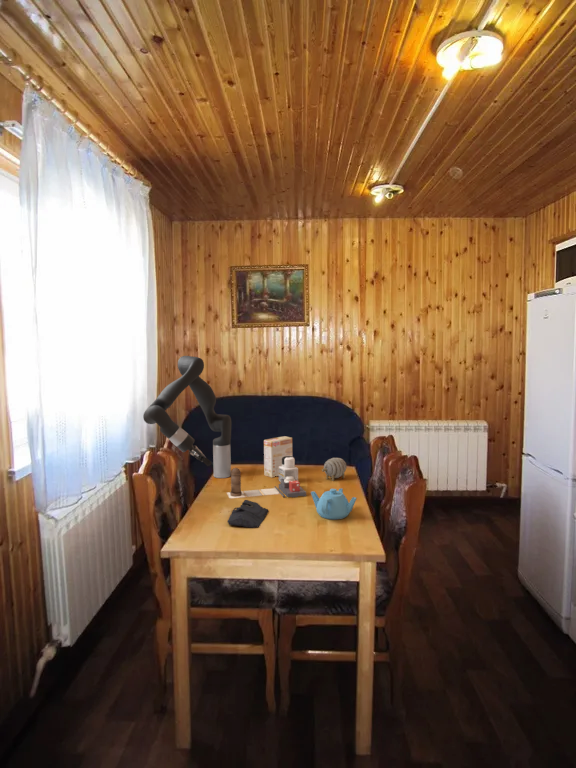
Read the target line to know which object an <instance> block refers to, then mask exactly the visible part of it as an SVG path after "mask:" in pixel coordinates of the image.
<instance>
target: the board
mask: <svg viewBox="0 0 576 768" xmlns="http://www.w3.org/2000/svg"><path fill="white" fill-rule="evenodd" d="M230 492H231V491H230ZM230 492H226V494H227V496H228V498H229V499H239V498H246V497H247V498H250V497H252V498H253V497H262V496H271V495H272V496H273V495H281V497H283V498H285V495H284V493H283V492H282V491H281V490H280V489H279V487H277V486H273V487H272V488H264V489H263V488H261V489H252V490H251V489H250V490H243V491H242V490H241V492H242V495H241V496H236V497H235V496H231V495H230Z"/></svg>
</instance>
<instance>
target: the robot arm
mask: <svg viewBox="0 0 576 768" xmlns="http://www.w3.org/2000/svg"><path fill="white" fill-rule="evenodd" d="M177 369H178V371H179V373H180V375H181V376H180V377H179V378H177V379H175V380H173V381H172V382H170V383H169V384H167V385H166V386H165V387H164V388H163V389H162V391H161V392H160V393H159V394H158V396H157V398H156V399H155V400H154V401H153V402H152V403H151V404H149V406H148V407H147V408H146V409H145V410H144V412H143V421H144V422H145V423H146V424H148V425H154V424H157V425H158V427H160V428H159V431H160V433H162V435H164V437H166V438H167V439H168V440H169V441H170V442H171V443H172V444H173V445H174V446H175V447H176V448H178V450H180V451H181V452H182V453H185V452H187V451H189V454H190V455H191V456H193V457H194V458H196V460H198V461H200V462H201V463H203V464H205V465H206V467H210V466H211V465H213V469H212V470H213V477H214V478H217V479H225V478H229V477H230V478H231V471H232V463H231V462H232V461H231V460H232V459H231V458H232V457H231V453H232V452H231V439H232V418H231V416H230V415H228V414H218V413H216V412H215V409H214V408H215V406H216V402H217V397H216V394H215V391H214V390H213V388H212V386H211V385H210V384H208V382H207V381H205V379H202V378H201V377H200V376H201V374H202V373H203V372H204V369H205V362H204V360H203V359H202V358H200V357H197V356H191V355H182V356H180V357H179V359H178V360H177ZM188 387H189V388H190V389H191V391H192V393H193V395H194V397H195V400H196V401H197V403H198V405H199V406H200V408H201V410H202V412H203V414H204V416H205V420H206V422H207V424H208V426H209V428H210V429H211V431H213V432H218V433H221V435H220V436H218V437H215V438H214V439H213V440H212V455H213V456H212V457H213V459H212V460H213V462H212V461H211V460H209V458H207V457H206V456H205V454H204V453H203V451H201V449H199V447H198V446H197V445H194V444H195V441H196V440H195V438H193V436H191V435H190V434H189V433H188V432H187V431H186V430H184V429H183V428H182V427H180V426H179V425H178V424H177V422H175V421H173V420H172V418H171V416H170V415H169V413H168V412H167V411H166V410H168V409H169V408H171V407H172V406H173V405H172V404H173V403H174V402H175V401H176V400H177V399H178V397H179V396H180V395H181V394H182V392H183V391H184V390H185V389H186V388H188Z"/></svg>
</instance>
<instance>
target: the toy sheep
mask: <svg viewBox="0 0 576 768" xmlns="http://www.w3.org/2000/svg"><path fill="white" fill-rule="evenodd" d="M347 467H348V465H347V462H346V461H345V460H344V459H343V458H341V457H332V458H329V459H327V460H326V461H325V462H324V465H323V468H322V469H321V471H322V472H324V473H325V474H326V475H325V479H326V480H329V479H330V478H331V481H332V482H334V481H335V479H340V477H341V478H342V479H345V477H346V476H345V472H346V470H347Z"/></svg>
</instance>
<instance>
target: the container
mask: <svg viewBox="0 0 576 768" xmlns="http://www.w3.org/2000/svg"><path fill="white" fill-rule="evenodd" d="M295 462H296V460H295V457H294V456H293V455H292V456H285V457H283V458H282V466H279V476H278V481H279V482H280V483H281V479H286V477H287V476H292V477H294V478H295V479H296V480H298V481H299V468H298V467H297V466H295Z"/></svg>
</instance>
